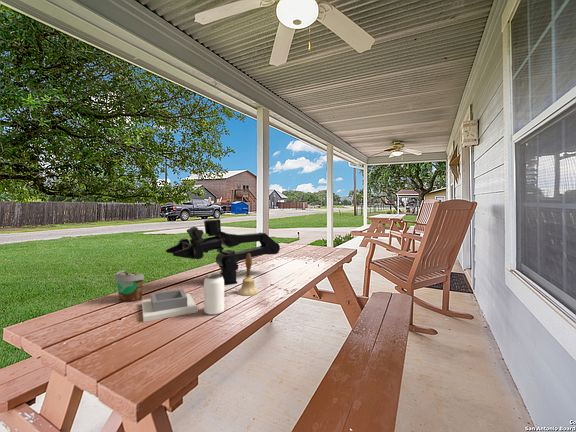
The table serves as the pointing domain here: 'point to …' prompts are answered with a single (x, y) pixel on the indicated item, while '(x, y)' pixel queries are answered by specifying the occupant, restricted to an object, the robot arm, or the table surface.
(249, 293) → the hand bell
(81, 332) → the table surface
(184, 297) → the socket board
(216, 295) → the can
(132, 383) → the table surface
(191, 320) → the table surface
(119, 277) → the food container
